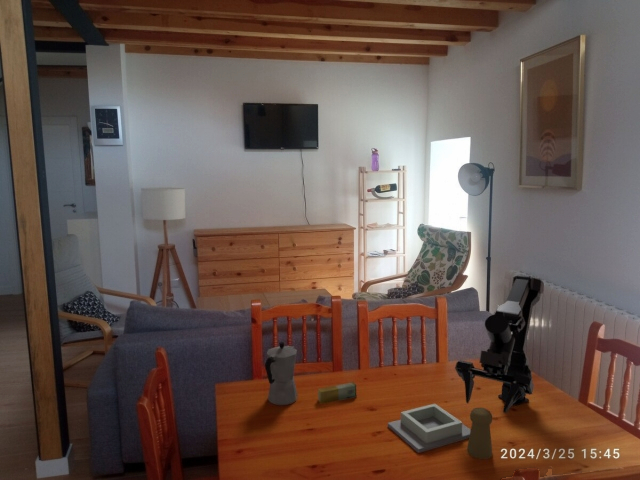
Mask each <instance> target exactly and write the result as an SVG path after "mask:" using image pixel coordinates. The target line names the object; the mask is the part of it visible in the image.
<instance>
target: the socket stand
mask: <svg viewBox="0 0 640 480" xmlns="http://www.w3.org/2000/svg"><path fill="white" fill-rule="evenodd" d="M387 428H389V429H390V430H392V432H394V433H395V434H396V435H397V436H398V437H399V438H400V439H402V440H403V441H404V443H406V444H408V446H409V447H411V448H412V449H413V450H414V451H416V452H417V453H418V454H420V453H423V452H427V451H431V450H433V449H438V448H440V447H443V446H447V445H450V444H451V445H452V444H453V443H454V444H455V443H457V442H460V441H463V440H467V439H469V437H470V431H471V428H469V426H466V425H465V424H464V423H463V422H462V421H461V420H460V419H458V418H457V417H455V416H454V415H452V414H451V413H449V412H448V411H447V410H445V409H443V408H442V407H441V406H439V405H437V404H436V403H432V404H428V405H423V406H419V407H416V408H412V409H408V410H404V411H401V412H400V419H397V420H395V421H389V422H387Z"/></svg>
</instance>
